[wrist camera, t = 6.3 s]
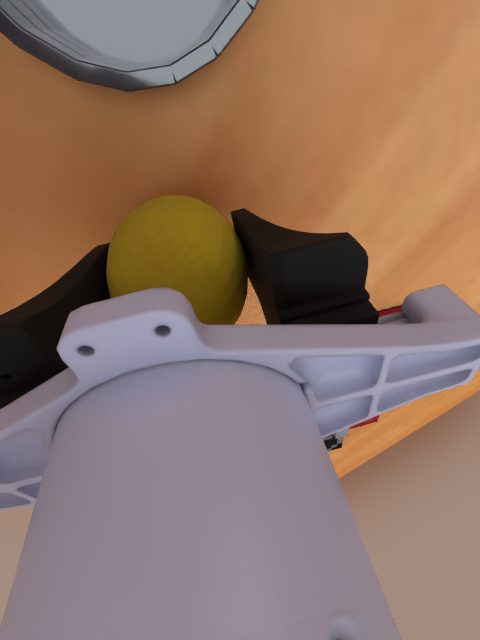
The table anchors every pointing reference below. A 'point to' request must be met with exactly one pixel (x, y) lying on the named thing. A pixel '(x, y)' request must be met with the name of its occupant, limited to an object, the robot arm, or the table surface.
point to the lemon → (181, 256)
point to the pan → (125, 37)
